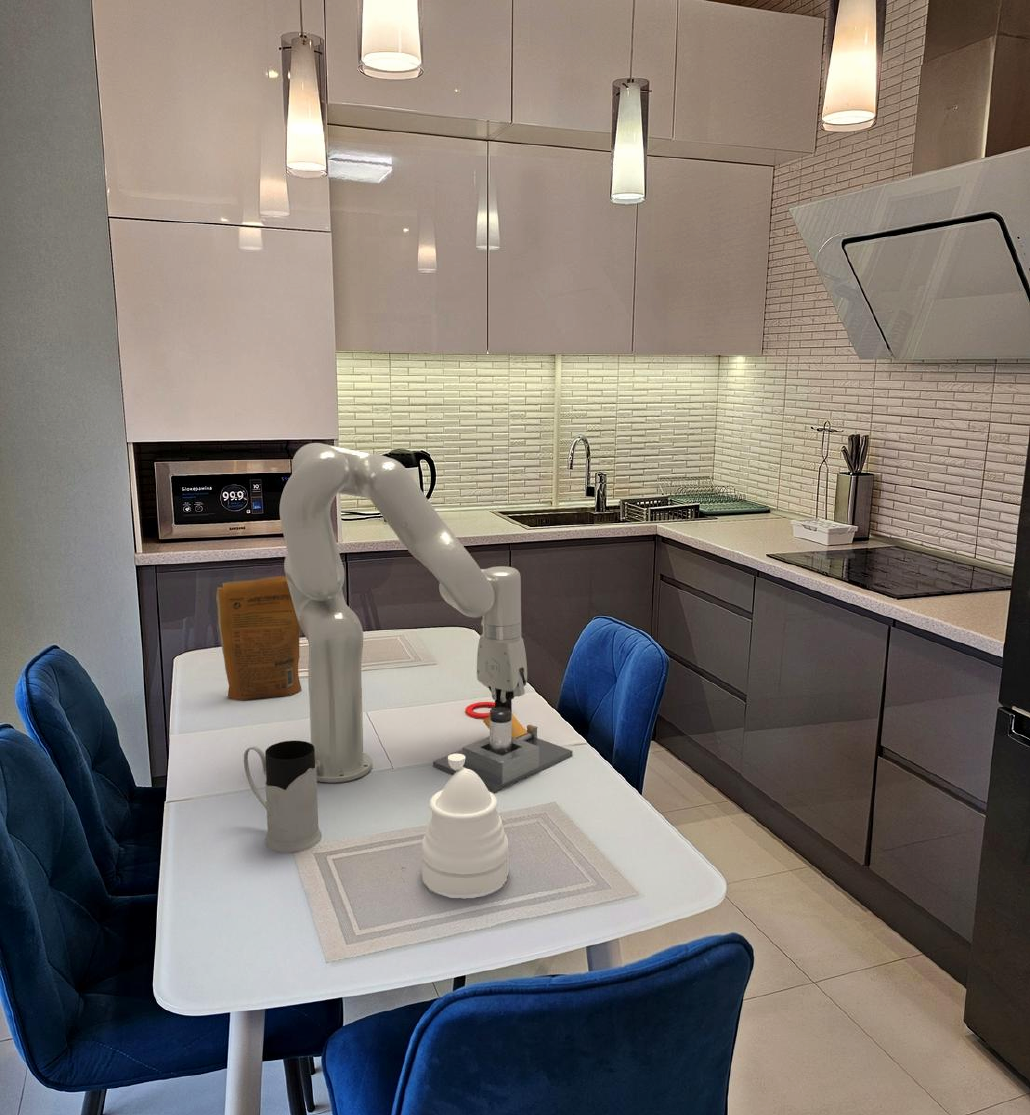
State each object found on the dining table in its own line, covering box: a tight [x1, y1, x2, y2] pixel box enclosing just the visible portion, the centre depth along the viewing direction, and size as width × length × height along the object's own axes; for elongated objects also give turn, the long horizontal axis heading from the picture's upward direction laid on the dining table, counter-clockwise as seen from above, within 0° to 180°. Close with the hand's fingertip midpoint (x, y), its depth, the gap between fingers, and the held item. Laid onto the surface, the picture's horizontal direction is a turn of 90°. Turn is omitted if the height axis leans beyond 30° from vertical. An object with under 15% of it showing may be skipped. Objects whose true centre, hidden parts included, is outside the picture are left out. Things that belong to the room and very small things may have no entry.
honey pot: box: [421, 753, 510, 895], centre depth 132 cm, size 13×13×18 cm
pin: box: [489, 707, 513, 756], centre depth 167 cm, size 4×4×11 cm
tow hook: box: [465, 701, 495, 720], centre depth 197 cm, size 8×13×9 cm
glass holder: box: [243, 740, 323, 854], centre depth 144 cm, size 9×14×15 cm, turn 61°
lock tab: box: [482, 713, 532, 741], centre depth 180 cm, size 8×1×8 cm
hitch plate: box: [432, 724, 573, 794], centre depth 173 cm, size 22×16×5 cm
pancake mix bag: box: [215, 575, 303, 702], centre depth 203 cm, size 7×19×28 cm, turn 110°
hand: (503, 718), depth 181 cm, fingers closed
